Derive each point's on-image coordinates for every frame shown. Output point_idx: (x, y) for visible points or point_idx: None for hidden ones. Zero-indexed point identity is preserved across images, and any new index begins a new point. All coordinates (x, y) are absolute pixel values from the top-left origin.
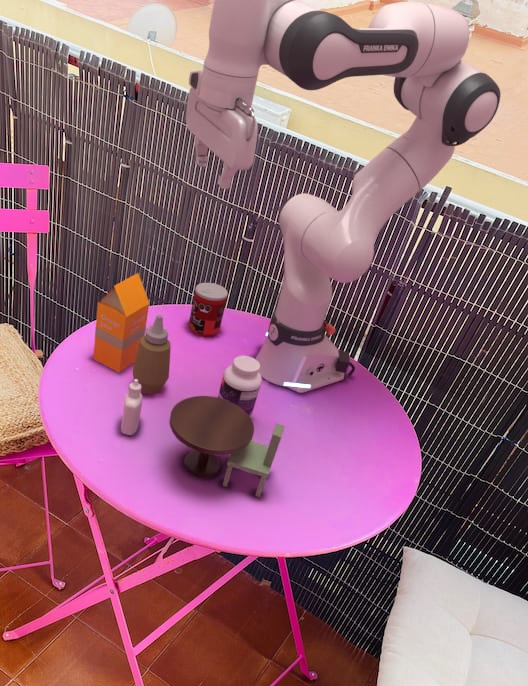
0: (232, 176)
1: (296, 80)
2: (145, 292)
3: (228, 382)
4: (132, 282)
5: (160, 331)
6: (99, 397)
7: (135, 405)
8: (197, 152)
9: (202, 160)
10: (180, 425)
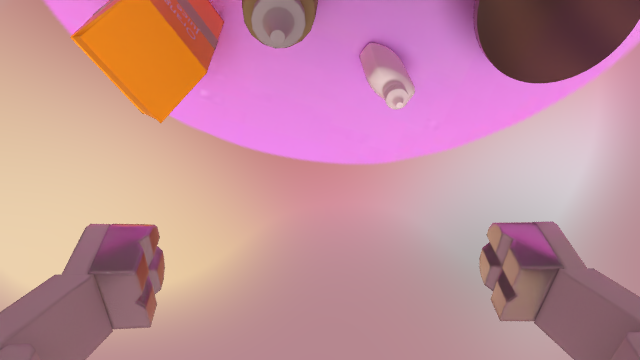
0: (612, 286)
1: None
2: (119, 4)
3: None
4: (119, 58)
5: (292, 23)
6: (291, 81)
7: (413, 92)
8: (94, 343)
9: (152, 287)
10: (538, 69)
